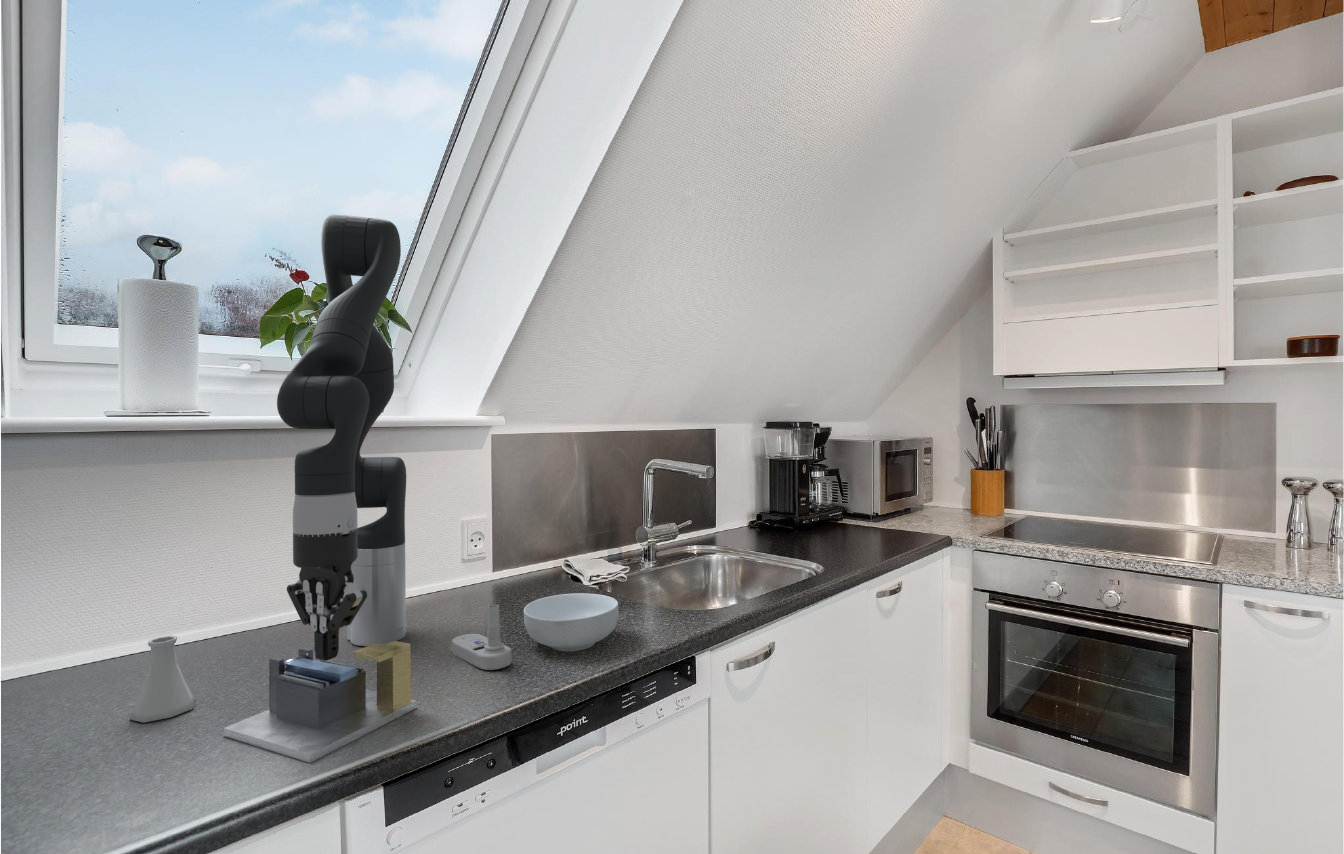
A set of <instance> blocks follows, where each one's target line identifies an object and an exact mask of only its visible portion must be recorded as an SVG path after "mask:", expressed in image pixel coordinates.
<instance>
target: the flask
mask: <svg viewBox="0 0 1344 854" xmlns="http://www.w3.org/2000/svg"><path fill="white" fill-rule="evenodd" d="M177 641H178V636H176V635H172V634H171V635H165V636H164V635H163V636H157V637H154V638H151V639H149V640H148V643H147V645H148V647H150V659H149V664H148V670H147V672H146V675H145V678H144V681H143V684H142V686H141V689H140V692H139V694H138V698H137V699H136V702H135V704H134V706H133V709H132V711H131V714H130V717H129V720H131V721H136V722H139V723H148V722H154V721H158V720H159V721H160V720H163V719H169V718H173V717H175V716H178V715H180V714H183V713H186V712H188V711H190V710H193V709H194V708H195V707H194V706H195V703H196V700H195V698H194V696H193V694H192V692H191V690H190V688H189V685H188V684H187V681H186V680H185V677H184V675H183V674H182V671H181V668H180V666H179V664H178V660H177V656H176V651H175V649H176V648H175V644H176V642H177Z"/></svg>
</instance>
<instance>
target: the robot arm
mask: <svg viewBox="0 0 1344 854" xmlns="http://www.w3.org/2000/svg"><path fill="white" fill-rule="evenodd" d="M322 221H323V222H322V224H321V231H320V239H321V240H320V244H321V245H320V246H321V254H322V255H321V256H322V262H323V269H324V276H325V283H326V288H327V295H328V305H327V306H326V307H324V309H323V310H322V311H321V313H320V315H319V317H318V319H317V321H316V323H315V326H314V330H313V334H312V337H311V341H310V344H309V347H308V349H307V350H306V351H305V352H304V353H303V354H302V356H301V358H299V360H298V361H297V363H296V364H295V365H294V367H293V368H292V369H291V370H290V371H289V372H288V374H287V375H286V377H285V378H284V380H283V381H282V384H281V385H280V387H279V390H278V394H277V399H276V408H277V413H278V414H279V416H280V419H281V420H282V422H283V423H285V424H286V425H287V426H288V427H291V428H293V429H298V430H335V432H334V434H333V437H332V438H331V440H330V441H329V442H328V443H326V444H324V445H319V446H315V447H314V446H313V447H310V448H305V449H301V450H300V451H298V452H297V454H295V457H294V503H293V507H292V562H293V565H294V566H295V567H296V568H300V571H299V574H298V578H299V579H298V580H297V581H296V582H295V583H291V584H288V585H287V586H286V591H287V594H288V596H289V599H290V601H291V602H292V605H293V607H294V608H295V611H296V612H297V614H298V617H299V618H300V621H301V623H302V624H303V625H304V626H305V625H309V626H310V630H311V631H312V632H313V633H314V635H313V636H314V639H313V640H314V641H313V642H314V644H313V645H314V654H315V655H314V656H315V660H317V661H320V660H323V661H327V660H329V661H331V659H335V658H336V657H337V656H338V653H339V649H340V642H339V641H340V639H339V637H340V636H339V635H340V634H339V631H340V629H341V628H343V627H346V639H347V640H349V641H350V643H351V644H352V645H355V646H361V647H367V646H370V645H373V644H375V643H381V644H387V643H390V642H393V641H398V642H399V641H400V640H402V639H404V638H405V636H406V635H407V634H406V633H407V632H406V631H407V630H406V628H407V625H406V624H407V623H406V621H407V619H406V615H407V614H406V613H407V611H406V610H407V609H406V607H407V605H406V604H407V603H406V602H407V601H406V599H407V598H406V597H407V596H406V593H407V592H406V588H407V587H406V523H405V522H406V520H405V519H406V514H405V513H406V494H407V493H406V492H407V467H406V464H405V461H404V460H403V459H402V458H401V457H398V456H376V457H375V456H374V457H373V456H371V457H369V456H368V457H366V456H365V457H362V456H361V449H362V446H363V443H364V441H365V439H366V437H367V436H368V433H369V431H370V430H371V428H372V427H373V425H374V424H375V422H376V420H377V419H378V418H379V417H380V416H381V414H382V413H383V412H384V410H385V408H386V407H387V405H388V404H389V402H390V401H391V398H392V397H393V394H394V392H395V374H394V373H395V372H394V357H393V353H392V350H391V349H390V346H389V344H388V343H387V341H386V340H385V338H384V336H383V335H382V333H380V331H379V330H378V328H377V327H376V325H374V324H375V322H376V319H377V317H378V314H379V313H380V310H381V308H382V306H383V304H384V303H385V300H386V297H387V296H388V293H389V291H390V289H391V287H392V284H393V282H394V280H395V278H396V275H397V273H398V270H399V266H400V262H401V256H402V255H401V252H402V246H401V237H400V233H399V231H398V227H397V226H396V225H395V224H394V223H393V222H392V221H390V220H388V219H387V220H386V219H383V218H382V219H381V218H377V217H376V218H375V217H366V216H365V217H364V216H356V215H347V214H338V213H337V214H333V213H332V214H328V215H327V216H325V218H324V219H323V220H322ZM353 276H354V277H361V278H360V279H358V281H357V282H356V283H354V284H353V279H352V277H353ZM371 508H373V509H375V508H385V509H386V511H385V514H384V515H383V516H381V517H380V518H378V519H376V520H375V521H373V522H370V523H368V524H365V525H362V526H359V527H358V509H371Z"/></svg>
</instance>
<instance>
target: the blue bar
mask: <svg viewBox="0 0 1344 854" xmlns="http://www.w3.org/2000/svg"><path fill="white" fill-rule="evenodd" d="M287 672H288V673H293V674H294V673H296V674H301V675H306V676H311V677H316V678H321V679H326V680H331V681H336V682H342V681H345V680H347V679H349V678H352V677H354V676H356V668H353V667H348V666H342V665H337V664H332V663H326V662H321V661H320V660H317V659H315V660H314V659H313V660H310V659H305V658H303V656H299V655H298V656H295V657H292V658H290V659H286V660H284V673H287Z"/></svg>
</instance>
